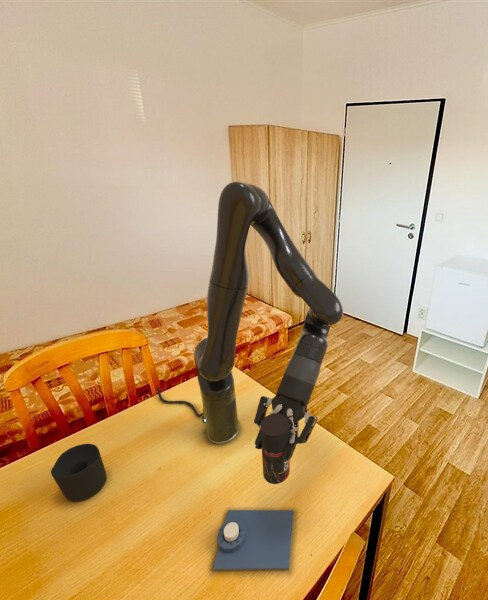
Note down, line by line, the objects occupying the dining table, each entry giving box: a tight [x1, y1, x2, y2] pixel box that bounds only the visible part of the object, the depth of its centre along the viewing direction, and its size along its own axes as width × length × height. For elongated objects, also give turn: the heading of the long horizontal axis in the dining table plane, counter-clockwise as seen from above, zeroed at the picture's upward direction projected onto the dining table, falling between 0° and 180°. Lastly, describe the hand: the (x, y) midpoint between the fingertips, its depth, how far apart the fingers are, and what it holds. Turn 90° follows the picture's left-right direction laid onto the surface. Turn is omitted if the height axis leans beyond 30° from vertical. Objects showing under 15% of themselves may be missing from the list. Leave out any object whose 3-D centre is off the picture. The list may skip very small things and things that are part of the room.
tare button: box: [224, 522, 239, 542], centre depth 71 cm, size 3×3×2 cm
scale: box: [212, 509, 294, 572], centre depth 72 cm, size 17×12×2 cm
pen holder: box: [50, 443, 108, 503], centre depth 79 cm, size 9×9×10 cm
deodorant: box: [259, 413, 291, 485], centre depth 69 cm, size 6×6×15 cm
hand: (271, 454), depth 67 cm, fingers closed on deodorant, 6 cm apart
